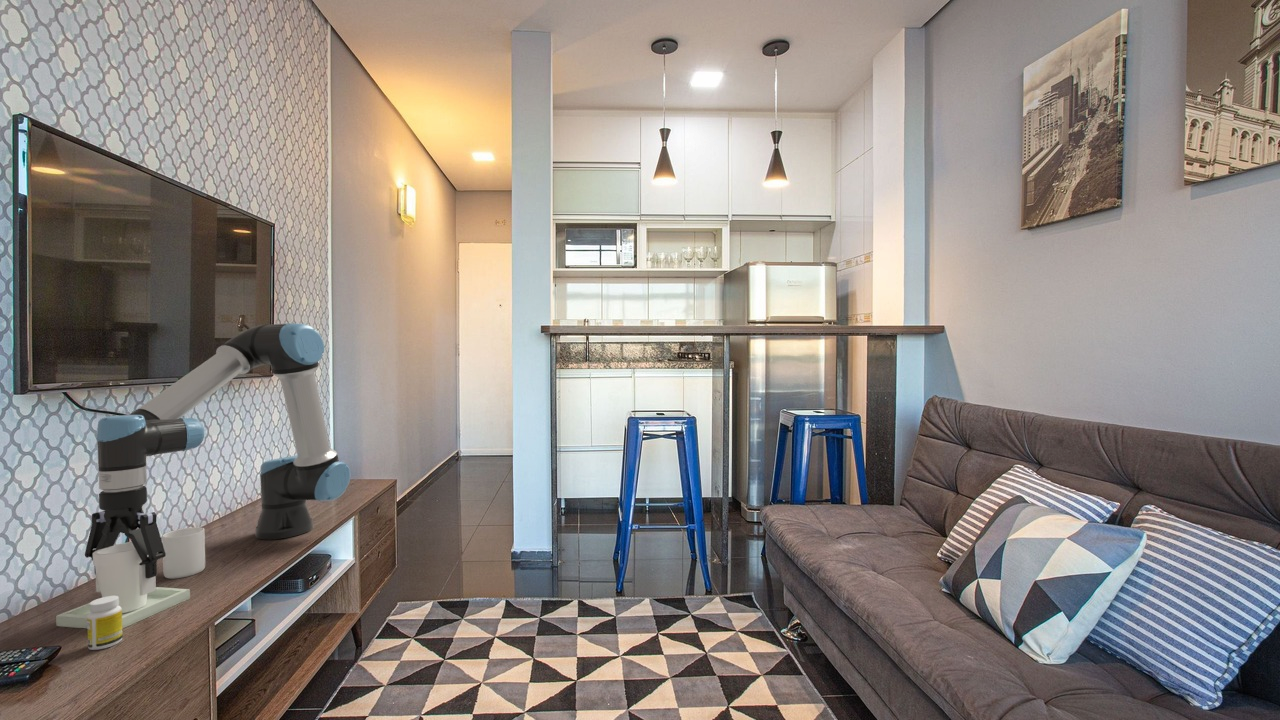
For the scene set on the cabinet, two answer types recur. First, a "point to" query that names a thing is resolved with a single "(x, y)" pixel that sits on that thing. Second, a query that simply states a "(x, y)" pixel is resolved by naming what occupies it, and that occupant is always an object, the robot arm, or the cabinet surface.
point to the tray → (154, 604)
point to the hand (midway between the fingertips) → (126, 591)
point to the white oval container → (184, 552)
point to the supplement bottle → (104, 623)
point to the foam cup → (120, 575)
